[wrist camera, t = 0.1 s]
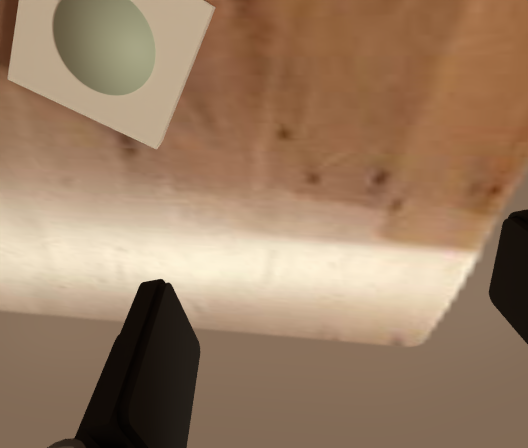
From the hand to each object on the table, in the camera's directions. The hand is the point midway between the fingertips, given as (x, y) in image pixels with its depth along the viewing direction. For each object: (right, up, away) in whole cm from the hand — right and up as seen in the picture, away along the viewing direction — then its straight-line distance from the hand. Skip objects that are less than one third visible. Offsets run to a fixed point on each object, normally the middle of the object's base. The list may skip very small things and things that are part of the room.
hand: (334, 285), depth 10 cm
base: (-17, +20, +24) cm, 35 cm away
